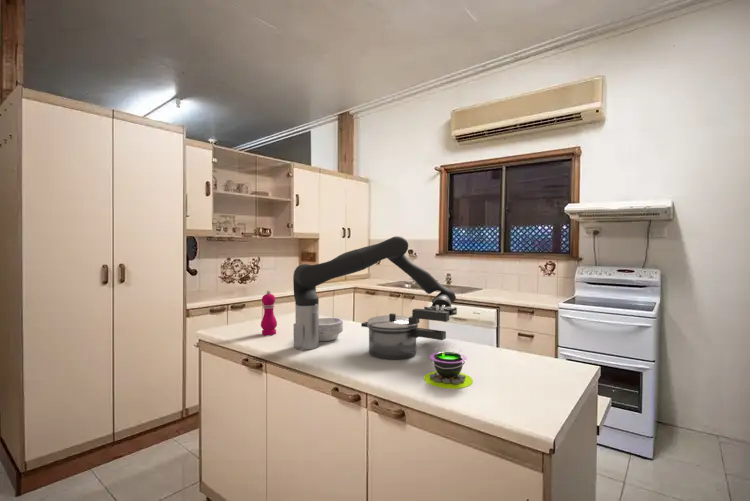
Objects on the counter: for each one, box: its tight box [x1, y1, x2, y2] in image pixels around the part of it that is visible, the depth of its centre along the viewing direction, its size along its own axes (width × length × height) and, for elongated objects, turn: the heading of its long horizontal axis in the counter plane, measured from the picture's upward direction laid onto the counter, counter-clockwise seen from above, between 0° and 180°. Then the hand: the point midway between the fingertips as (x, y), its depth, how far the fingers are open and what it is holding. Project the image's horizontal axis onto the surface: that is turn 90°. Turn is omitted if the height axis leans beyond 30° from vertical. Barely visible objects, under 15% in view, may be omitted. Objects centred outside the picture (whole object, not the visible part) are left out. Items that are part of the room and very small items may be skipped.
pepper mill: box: [260, 290, 278, 336], centre depth 178 cm, size 7×7×20 cm
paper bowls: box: [319, 317, 344, 342], centre depth 170 cm, size 15×15×8 cm
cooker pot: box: [360, 321, 447, 361], centre depth 147 cm, size 34×19×11 cm, turn 58°
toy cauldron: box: [423, 342, 474, 390], centre depth 121 cm, size 15×15×11 cm
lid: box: [367, 308, 450, 329], centre depth 145 cm, size 31×19×6 cm, turn 60°
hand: (438, 315), depth 141 cm, fingers closed
